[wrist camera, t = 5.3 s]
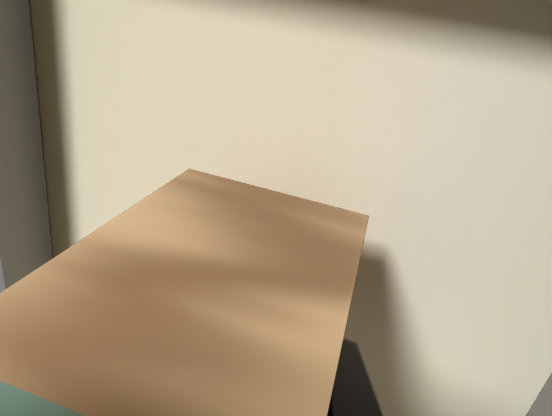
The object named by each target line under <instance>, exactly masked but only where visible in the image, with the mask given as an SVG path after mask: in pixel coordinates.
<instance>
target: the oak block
mask: <svg viewBox="0 0 552 416" xmlns="http://www.w3.org/2000/svg"><path fill="white" fill-rule="evenodd" d="M368 218H369V216H368V215H364V214H360V213H356V212H352V211H349V210H345V209H341V208H337V207H333V206H329V205H326V204H322V203H318V202H314V201H310V200H306V199H303V198H299V197H295V196H291V195H287V194H283V193H280V192H276V191H272V190H268V189H264V188H260V187H257V186H253V185H249V184H245V183H241V182H237V181H234V180H230V179H226V178H222V177H218V176H215V175H211V174H207V173H203V172H199V171H195V170H192V169H188V170H187V171H185V172H183V173H182V174H180V175H179V176H177V177H176V178H174V179H173V180H171V181H170V182H168V183H167V184H165V185H164V186H162V187H161V188H159V189H158V190H156V191H155V192H153V193H152V194H150V195H148V196H147V197H145V198H144V199H142V200H141V201H139V202H138V203H136V204H135V205H133V206H132V207H130V208H129V209H127V210H126V211H124V212H123V213H121V214H120V215H118V216H117V217H115V218H113V219H112V220H110V221H109V222H107V223H106V224H104V225H103V226H101V227H100V228H98V229H97V230H95V231H94V232H92V233H91V234H89V235H88V236H86V237H85V238H83V239H82V240H80V241H78V242H77V243H75V244H74V245H72V246H71V247H69V248H68V249H66V250H65V251H63V252H62V253H60V254H59V255H57V256H56V257H54V258H53V259H51V260H50V261H48V262H47V263H45V264H43V265H42V266H40V267H39V268H37V269H36V270H34V271H33V272H31V273H30V274H28V275H27V276H25V277H24V278H22V279H21V280H19V281H18V282H16V283H15V284H13V285H12V286H10V287H9V288H7V289H5V290H4V291H2V292H1V293H0V416H327V413H328V408H329V403H330V399H331V394H332V389H333V384H334V380H335V375H336V370H337V366H338V361H339V356H340V351H341V347H342V342H343V337H344V332H345V328H346V323H347V318H348V313H349V309H350V304H351V299H352V294H353V290H354V285H355V280H356V275H357V271H358V266H359V261H360V256H361V252H362V247H363V242H364V237H365V233H366V228H367V223H368Z"/></svg>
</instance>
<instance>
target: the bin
mask: <svg viewBox="0 0 552 416" xmlns="http://www.w3.org/2000/svg"><path fill="white" fill-rule="evenodd" d="M51 259H53V256H52V245H51V234H50V223H49V213H48V202H47V191H46V180H45V169H44V158H43V148H42V137H41V126H40V115H39V104H38V93H37V83H36V72H35V61H34V50H33V39H32V28H31V18H30V7H29V0H0V293H1V292H2V291H4V290H5V289H7V288H9V287H10V286H12V285H13V284H15V283H16V282H18V281H19V280H21V279H22V278H24V277H25V276H27V275H28V274H30V273H31V272H33V271H34V270H36V269H37V268H39V267H40V266H42V265H43V264H45V263H47V262H48V261H50V260H51ZM526 416H552V375H551V376H550V378H549V379H548V381H547V383H546V384H545V386H544V388H543V389H542V391H541V393H540V394H539V396H538V397H537V399H536V401H535V402H534V404H533V406H532V407H531V409H530V411H529V412H528V414H527V415H526Z"/></svg>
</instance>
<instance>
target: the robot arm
mask: <svg viewBox="0 0 552 416" xmlns="http://www.w3.org/2000/svg"><path fill="white" fill-rule="evenodd" d="M327 416H384V415H383V412H382V410H381V407H380V404H379V401H378V399H377V396H376V393H375V390H374V388H373V385H372V382H371V379H370V377H369V374H368V371H367V368H366V366H365V363H364V360H363V358H362V355H361V352H360V349H359V347H358V344H357V343H356V342H354V341H351V340H347V339H344V338H343V342H342V347H341V351H340V356H339V361H338V366H337V370H336V375H335V380H334V384H333V389H332V394H331V399H330V403H329V408H328V413H327Z"/></svg>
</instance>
